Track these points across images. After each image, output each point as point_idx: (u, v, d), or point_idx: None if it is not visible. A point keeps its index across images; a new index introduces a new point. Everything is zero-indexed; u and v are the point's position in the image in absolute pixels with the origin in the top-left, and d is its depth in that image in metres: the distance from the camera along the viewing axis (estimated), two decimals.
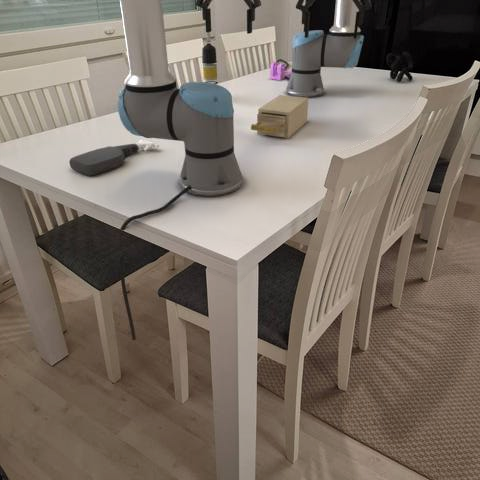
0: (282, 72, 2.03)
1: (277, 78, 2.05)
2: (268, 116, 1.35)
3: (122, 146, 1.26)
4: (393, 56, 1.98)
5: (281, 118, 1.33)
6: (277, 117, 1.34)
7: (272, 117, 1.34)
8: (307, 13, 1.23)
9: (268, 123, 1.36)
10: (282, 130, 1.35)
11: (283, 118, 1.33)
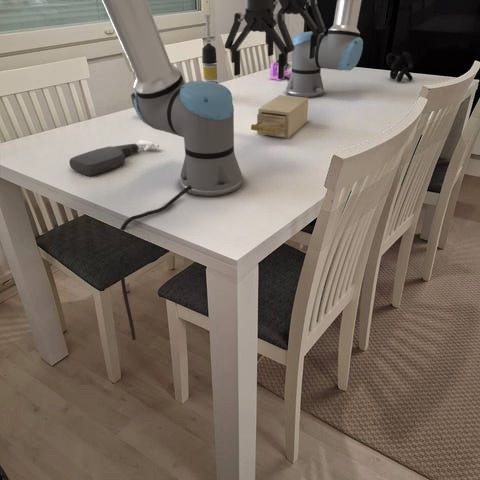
0: None
1: (277, 78, 2.05)
2: (268, 116, 1.35)
3: (122, 146, 1.26)
4: (393, 56, 1.98)
5: (281, 118, 1.33)
6: (277, 117, 1.34)
7: (272, 117, 1.34)
8: None
9: (268, 123, 1.36)
10: (282, 130, 1.35)
11: (283, 118, 1.33)
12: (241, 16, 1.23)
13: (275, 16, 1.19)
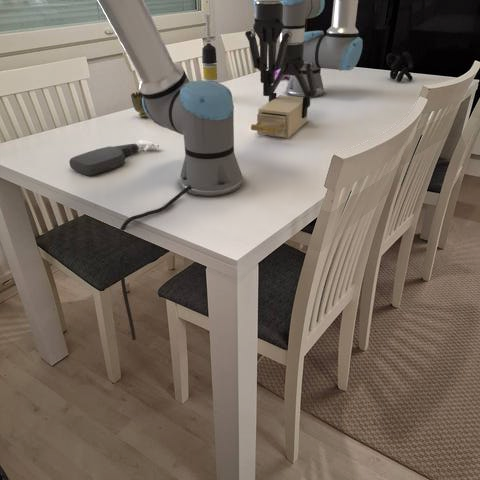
0: None
1: None
2: (268, 116, 1.35)
3: (122, 146, 1.26)
4: (393, 56, 1.98)
5: (281, 118, 1.33)
6: (277, 117, 1.34)
7: (272, 117, 1.34)
8: None
9: (268, 123, 1.36)
10: (282, 130, 1.35)
11: (283, 118, 1.33)
12: (251, 31, 1.21)
13: (284, 31, 1.17)
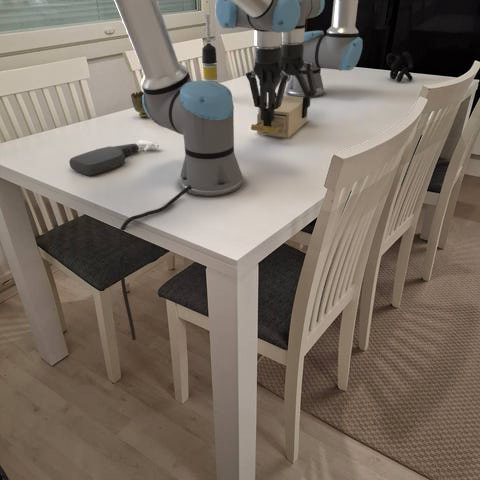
0: None
1: None
2: None
3: (122, 146, 1.26)
4: (393, 56, 1.98)
5: (281, 118, 1.33)
6: (277, 117, 1.34)
7: None
8: None
9: None
10: (282, 130, 1.35)
11: (283, 118, 1.33)
12: (252, 72, 1.27)
13: (282, 74, 1.23)
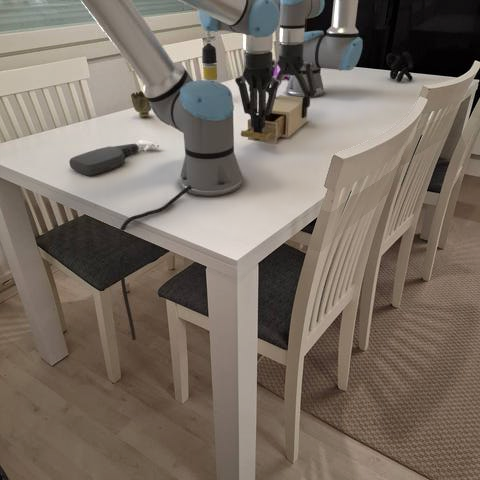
0: None
1: None
2: None
3: (122, 146, 1.26)
4: (393, 56, 1.98)
5: (272, 124, 1.28)
6: (268, 123, 1.28)
7: None
8: None
9: None
10: (273, 136, 1.29)
11: (274, 124, 1.28)
12: (241, 77, 1.21)
13: (273, 79, 1.18)
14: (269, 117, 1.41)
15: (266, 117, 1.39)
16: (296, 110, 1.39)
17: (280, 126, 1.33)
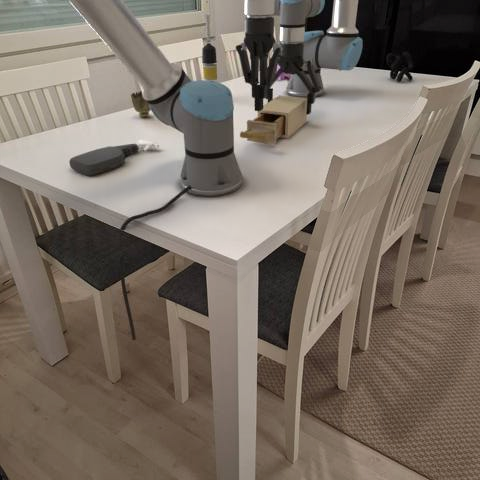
0: None
1: None
2: (258, 123, 1.29)
3: (122, 146, 1.26)
4: (393, 56, 1.98)
5: (271, 125, 1.28)
6: (267, 124, 1.28)
7: (262, 124, 1.29)
8: None
9: (258, 130, 1.30)
10: (273, 137, 1.29)
11: (274, 125, 1.27)
12: (242, 45, 1.18)
13: (275, 45, 1.14)
14: (268, 118, 1.41)
15: (265, 118, 1.39)
16: (296, 111, 1.39)
17: (279, 127, 1.33)
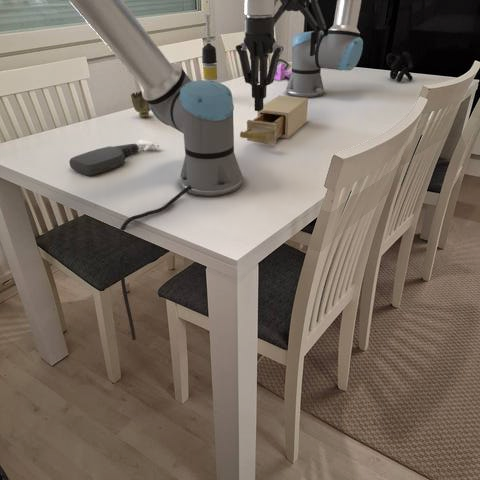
0: (282, 72, 2.03)
1: (277, 78, 2.05)
2: (258, 123, 1.29)
3: (122, 146, 1.26)
4: (393, 56, 1.98)
5: (271, 125, 1.28)
6: (267, 124, 1.28)
7: (262, 124, 1.29)
8: None
9: (258, 130, 1.30)
10: (273, 137, 1.29)
11: (274, 125, 1.27)
12: (242, 45, 1.18)
13: (275, 45, 1.14)
14: (268, 118, 1.41)
15: (265, 118, 1.39)
16: (296, 111, 1.39)
17: (279, 127, 1.33)
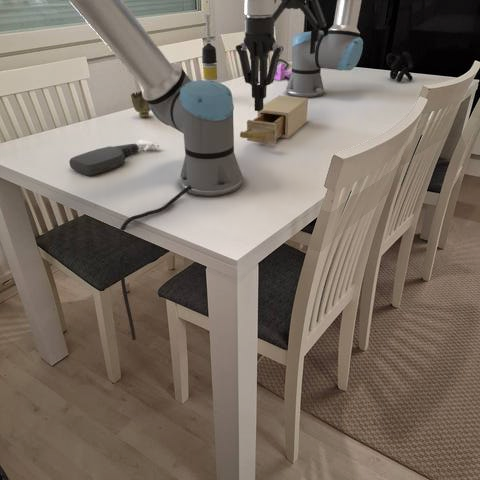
0: (282, 72, 2.03)
1: (277, 78, 2.05)
2: (258, 123, 1.29)
3: (122, 146, 1.26)
4: (393, 56, 1.98)
5: (271, 125, 1.28)
6: (267, 124, 1.28)
7: (262, 124, 1.29)
8: None
9: (258, 130, 1.30)
10: (273, 137, 1.29)
11: (274, 125, 1.27)
12: (242, 45, 1.18)
13: (275, 45, 1.14)
14: (268, 118, 1.41)
15: (265, 118, 1.39)
16: (296, 111, 1.39)
17: (279, 127, 1.33)
